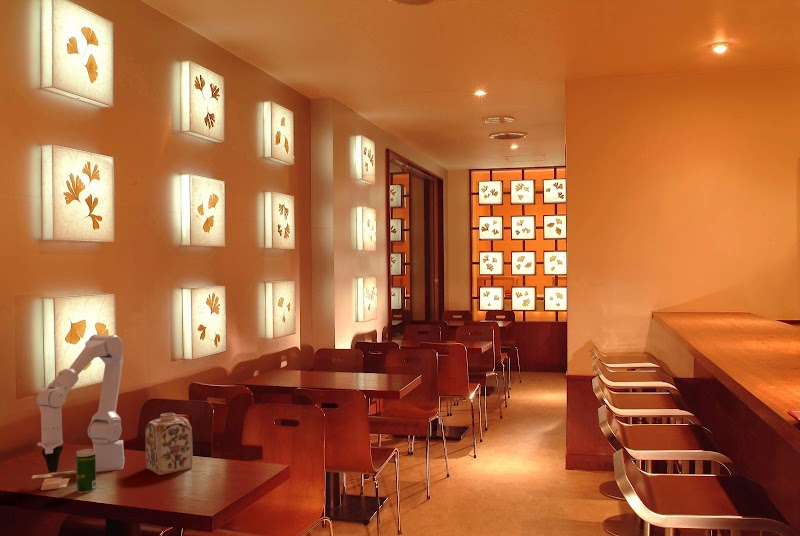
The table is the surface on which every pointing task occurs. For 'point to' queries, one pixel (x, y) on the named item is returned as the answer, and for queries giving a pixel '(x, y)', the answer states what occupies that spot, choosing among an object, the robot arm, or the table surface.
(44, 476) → the wooden turner
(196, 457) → the table surface
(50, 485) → the tile
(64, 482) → the marble board
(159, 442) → the decorative jar
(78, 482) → the beer can
